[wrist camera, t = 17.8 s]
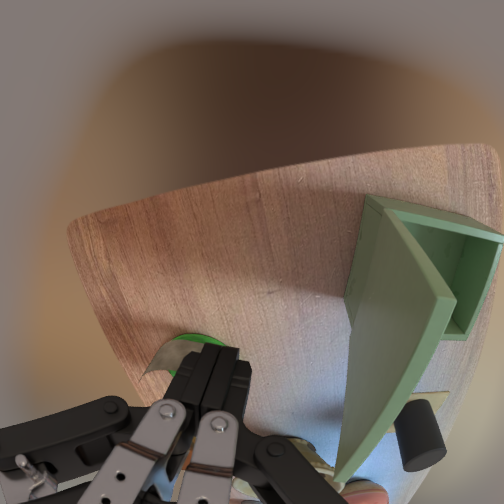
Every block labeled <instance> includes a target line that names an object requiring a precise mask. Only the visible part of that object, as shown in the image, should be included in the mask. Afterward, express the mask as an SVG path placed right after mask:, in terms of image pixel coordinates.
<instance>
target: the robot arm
mask: <svg viewBox="0 0 504 504" xmlns="http://www.w3.org/2000/svg"><path fill="white" fill-rule="evenodd" d="M251 375H252V369H251V366H250V363H249V362H248V361H242V360H239V348H235V347H229V346H222V345H218V344H213V343H207V342H205V344H204V346H203V348H202V350H201V353H200V352H195V351H191V352H190V353H189V354H187V355H186V356H185V357H184V358H183V360H182V362H181V364H180V366H179V368H178V370H177V371H176V374H175V375H174V377H173V379H172V381H171V383H170V385H169V387H168V389H167V391H166V393H165V395H164V397H163V399H160V400H158V401H156V402H154V403H153V404H152V405H151V406H149V407H131V406H128V404H127V403H126V401H125V400H124V399H122V398H120V397H117V396H106V397H103V398H100V399H97V400H94V401H91V402H89V403H86V404H83V405H80V406H77V407H74V408H71V409H68V410H65V411H61V412H59V413H55V414H52V415H49V416H45V417H42V418H39V419H35V420H32V421H28V422H25V423H21V424H17V425H13V426H10V427H6V428H2V429H0V485H1V488H2V491H3V494H4V497H5V500H6V503H7V504H229V500H230V492H231V484H232V477H233V476H235V477H237V478H239V479H241V480H243V481H246V482H248V484H249V486H250V487H251V489H252V490H253V491H254V493H255V494H256V495H257V497H258V498H259V499H260V501H261V502H262V503H263V504H349V503H348V502H347V501H346V500H345V499H344V498H343V497H342V496H341V495H340V494H339V493H338V492H337V491H336V490H335V489H334V488H333V487H332V486H331V485H330V484H329V483H328V482H327V481H326V480H325V479H324V478H323V477H322V476H321V474H320V473H319V472H318V471H317V470H316V469H315V468H314V467H313V466H312V465H311V464H310V462H309V461H308V460H307V459H306V458H305V457H304V456H303V455H302V453H301V452H300V451H299V450H298V449H297V448H296V447H295V445H294V444H293V443H292V442H291V441H290V440H288V439H287V438H285V437H282V436H278V435H270V436H266V437H261V436H259V435H257V434H255V433H253V432H251V431H250V430H248V429H247V428H246V426H245V425H244V423H243V418H244V414H245V409H246V404H247V400H248V395H249V389H250V382H251ZM193 437H196V440H195V444H194V448H193V452H192V456H191V460H190V463H189V465H187V467H186V469H185V472H184V476H183V480H182V484H181V489H180V493H179V497H178V500H177V502H170V500H171V497H172V493H173V487H174V484H175V482H176V480H177V478H178V475H179V473H180V471H181V469H182V467H183V465H184V463H185V461H186V458H187V456H188V454H189V452H190V446H191V443H192V440H193ZM98 470H99V471H98ZM95 471H98V473H97V474H96V476H95V477H94V479H93V480H92V481H88V482H85V483H82V484H79V485H77V486H74V487H71V488H68V489H66V490H63V491H60V492H57V487H58V484H59V483H62V482H65V481H68V480H72V479H75V478H78V477H81V476H84V475H87V474H89V473H92V472H95Z"/></svg>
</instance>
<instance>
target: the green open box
mask: <svg viewBox="0 0 504 504" xmlns="http://www.w3.org/2000/svg"><path fill="white" fill-rule="evenodd" d="M383 209H389V210H392V211H393V212H394V213H395V214H396V215H397V217H398V218H399V219H400V220H401V222H402V223H403V224H404V225H405V227H406V228H407V229H408V231H409V232H410V233H411V234H412V236H413V237H414V238H415V240H416V241H417V242H418V244H419V245H420V246H421V248H422V249H423V251H424V252H425V253H426V255H427V256H428V257H429V259H430V260H431V262H432V263H433V265H434V266H435V267H436V269H437V270H438V272H439V273H440V275H441V276H442V278H443V279H444V281H445V282H446V284H447V285H448V287H449V288H450V290H451V292H452V293H453V295H454V296H455V298H456V300H457V303H456V305H455V308H454V310H453V313H452V315H451V318H450V320H449V322H448V325H447V327H446V329H445V331H444V333H443V336H442V338H441V340H456V341H466V340H467V338H468V336H469V334H470V332H471V330H472V328H473V326H474V324H475V321H476V319H477V317H478V315H479V312H480V310H481V307H482V305H483V303H484V300H485V298H486V295H487V292H488V290H489V287H490V284H491V282H492V279H493V276H494V273H495V270H496V267H497V264H498V261H499V258H500V254H501V251H502V247H503V243H504V235H503V234H501V233H499V232H497V231H496V230H494V229H492V228H490V227H488V226H486V225H485V224H483V223H481V222H479V221H477V220H475V219H473V218H470V217H467V216H463V215H459V214H455V213H451V212H447V211H443V210H439V209H435V208H431V207H427V206H422V205H418V204H413V203H409V202H404V201H399V200H395V199H390V198H385V197H380V196H374V195H369V194H366V197H365V203H364V208H363V214H362V219H361V224H360V229H359V234H358V239H357V244H356V248H355V253H354V257H353V262H352V266H351V270H350V275H349V279H348V283H347V287H346V291H345V294H344V298H343V299H344V302H345V306H346V309H347V313H348V317H349V321H350V324H351V328H353V325H354V322H355V319H356V315H357V312H358V309H359V305H360V302H361V299H362V295H363V292H364V288H365V284H366V281H367V277H368V273H369V269H370V265H371V261H372V257H373V253H374V249H375V245H376V240H377V236H378V231H379V226H380V222H381V217H382V212H383Z"/></svg>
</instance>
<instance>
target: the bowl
mask: <svg viewBox="0 0 504 504" xmlns="http://www.w3.org/2000/svg"><path fill="white" fill-rule="evenodd" d="M288 440H290V441H291V442H292V443H293V444H294V445H295V447H296V448H297V449H298V450H299V451H300V452H301V453H302V455H303V456H304V457H305V458H306V459H307V460H308V461H309V462H310V464H311V465H312V466H313V467H314V468H315V469H316V470H317V471H318V472H319V473H320V474H321V476H322V477H323V478H324V479H325V480H326V481H327V482H328V483H329V484H330V485H331V486H332V487H333V488H334V489H335V490H336V491H337V492H338V493H340V492H341V491H342V490H343V489H344V486H345V483H342V482H334V481H333V475H334V470H335V468H334V467H330V465H328V464H327V463H326V462H325V461H324V460H323V459H322V458H321V457H320V456H319V455H318V454H317V453H316V452H315V451H316V449H315V447H314V446H313V445H312V444H311V443H310V442H307V441H305V440H301V439H298V438H288ZM232 486H233V488H235V489H236V490H237V491H239V492H241V493H243V494H245V495H248V496H251V497H255V498H258V497H257V495H256V494H255V493H254V491H253V490H252V489H251V487H250V486H249V484H248V482H246V481H243V480H241V479H239V478H237V477H235V478H234V479H233V481H232ZM258 499H259V498H258Z"/></svg>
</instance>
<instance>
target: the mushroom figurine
mask: <svg viewBox="0 0 504 504" xmlns="http://www.w3.org/2000/svg"><path fill="white" fill-rule="evenodd" d="M205 342H207V343H213V344H218V345H222V346H226V345H224V344H223V343H221V342H220V341H218V340H216V339H214V338H211V337H208V336H205V335H200V334H184V335H180V336H178V337H176V338H174V339H173V340H171V341H169V342H167V343H165V344H164V345H163V346H162V347H161V348H160V349H159V350H158V352H157V353H156V355H155V356H154V358H153V360H152V361H151V363H150V364H149V366H148V368H147V369H146V371H145V372H144V374H143V375H145V374H146V373H148V372H150V371H154V370H168V371H169V372H170V374H171V375H172V376H173V377H174V375H175V374H176V371H177V370H178V368H179V366H180V364H181V362H182V360H183V358H184V357H185V356H186V355H187V354H189V353H190V352H191V351H195V352H200V353H201V350H202V348H203V346H204V344H205ZM141 378H142V377H141ZM140 380H141V379H140ZM138 383H139V382H138ZM195 440H196V437H193V440H192V443H191V446H190V452H189V454H188V456H187V458H186V461H185V463H184V465H183V467H182V469H181V470H185V469H186V467H187V465H189V463H190V460H191V456H192V452H193V448H194V444H195Z"/></svg>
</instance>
